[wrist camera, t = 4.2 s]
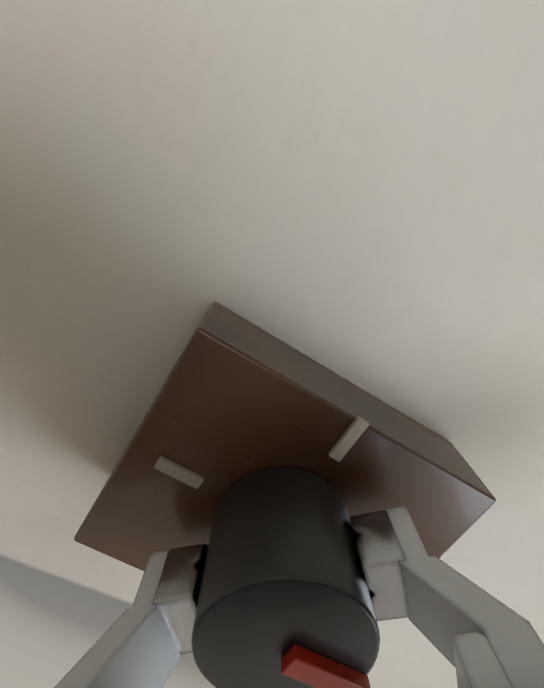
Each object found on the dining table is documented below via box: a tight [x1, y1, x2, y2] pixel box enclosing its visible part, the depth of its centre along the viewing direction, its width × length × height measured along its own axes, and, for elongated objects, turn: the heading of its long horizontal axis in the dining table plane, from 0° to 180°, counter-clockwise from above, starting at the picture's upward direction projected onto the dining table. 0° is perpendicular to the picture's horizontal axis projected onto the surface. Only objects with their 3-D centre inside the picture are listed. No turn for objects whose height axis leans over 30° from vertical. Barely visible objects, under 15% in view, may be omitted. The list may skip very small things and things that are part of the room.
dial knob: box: [191, 467, 380, 688], centre depth 10 cm, size 4×4×4 cm
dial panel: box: [74, 303, 496, 571], centre depth 13 cm, size 10×8×3 cm
